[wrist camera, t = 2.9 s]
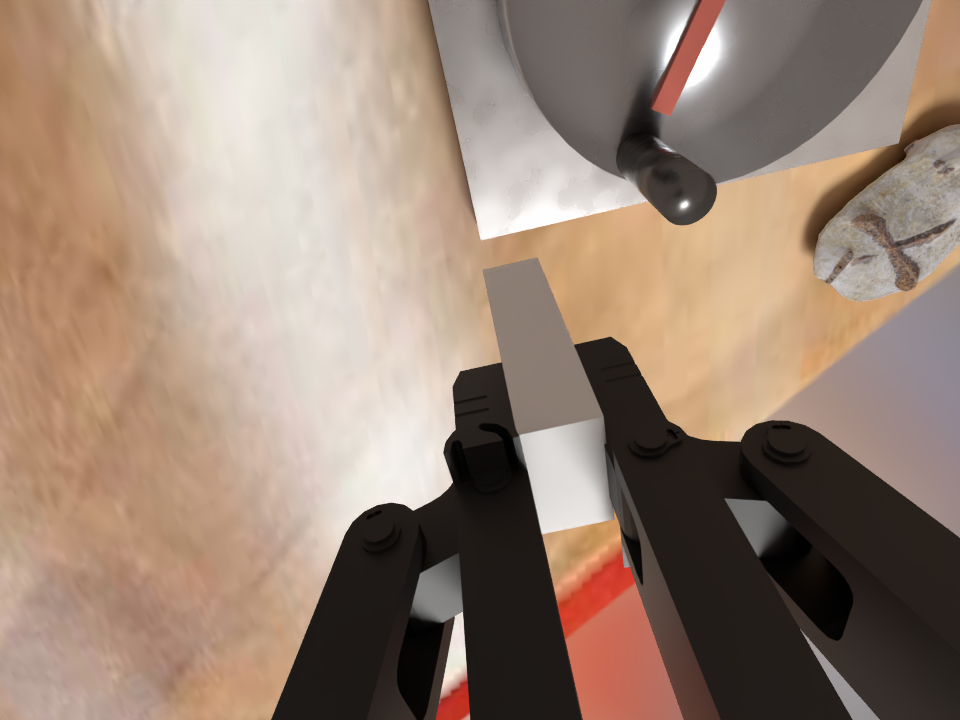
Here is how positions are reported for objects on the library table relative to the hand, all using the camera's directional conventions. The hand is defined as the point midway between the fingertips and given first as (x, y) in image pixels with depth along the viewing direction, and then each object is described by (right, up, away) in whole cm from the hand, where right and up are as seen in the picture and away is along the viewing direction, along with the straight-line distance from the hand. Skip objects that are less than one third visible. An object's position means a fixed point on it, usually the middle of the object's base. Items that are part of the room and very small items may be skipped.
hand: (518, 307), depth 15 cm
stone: (+21, +7, +15) cm, 27 cm away
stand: (+6, +16, +7) cm, 18 cm away
